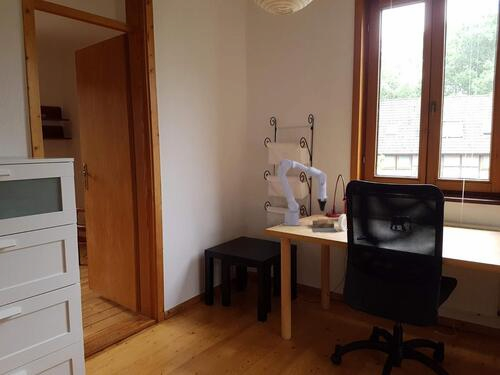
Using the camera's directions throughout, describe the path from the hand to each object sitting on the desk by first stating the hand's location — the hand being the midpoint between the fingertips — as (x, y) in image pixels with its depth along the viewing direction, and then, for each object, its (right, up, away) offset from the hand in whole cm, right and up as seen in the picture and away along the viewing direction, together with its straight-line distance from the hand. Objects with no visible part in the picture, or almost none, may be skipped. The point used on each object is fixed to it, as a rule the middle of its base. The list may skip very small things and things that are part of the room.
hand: (322, 210), depth 259 cm
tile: (-1, -7, -9) cm, 11 cm away
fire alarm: (+26, -8, +7) cm, 28 cm away
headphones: (+13, -11, -18) cm, 24 cm away
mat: (-2, -11, -20) cm, 23 cm away
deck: (-1, -10, -9) cm, 13 cm away
